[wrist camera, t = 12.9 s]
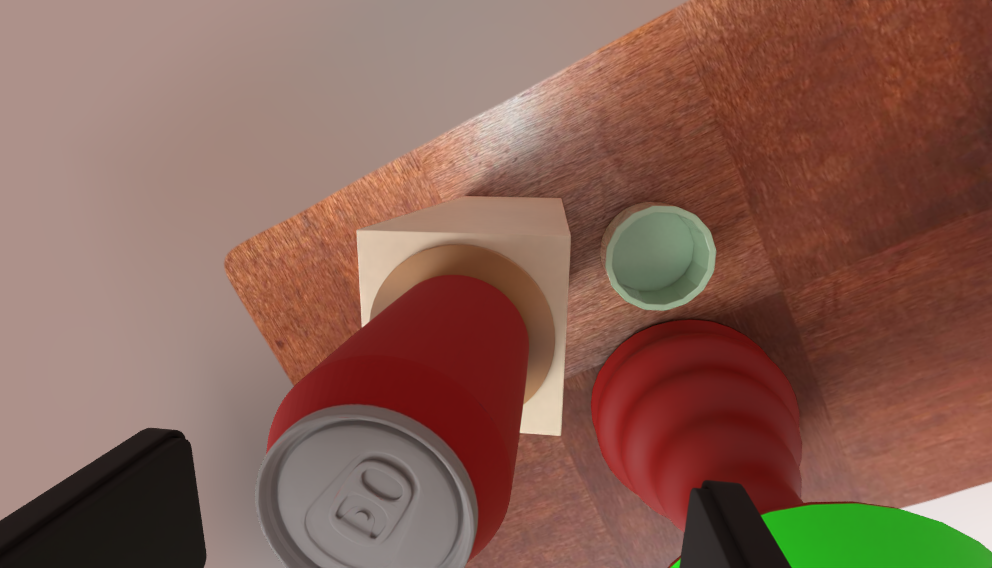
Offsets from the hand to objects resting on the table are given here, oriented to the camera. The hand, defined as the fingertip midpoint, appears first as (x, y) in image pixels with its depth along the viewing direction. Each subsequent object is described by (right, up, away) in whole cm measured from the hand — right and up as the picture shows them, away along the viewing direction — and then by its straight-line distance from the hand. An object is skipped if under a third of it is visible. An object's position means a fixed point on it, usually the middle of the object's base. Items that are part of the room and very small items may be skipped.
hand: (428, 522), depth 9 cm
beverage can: (0, +2, +14) cm, 14 cm away
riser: (+3, +8, +41) cm, 42 cm away
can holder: (+17, +8, +40) cm, 44 cm away
